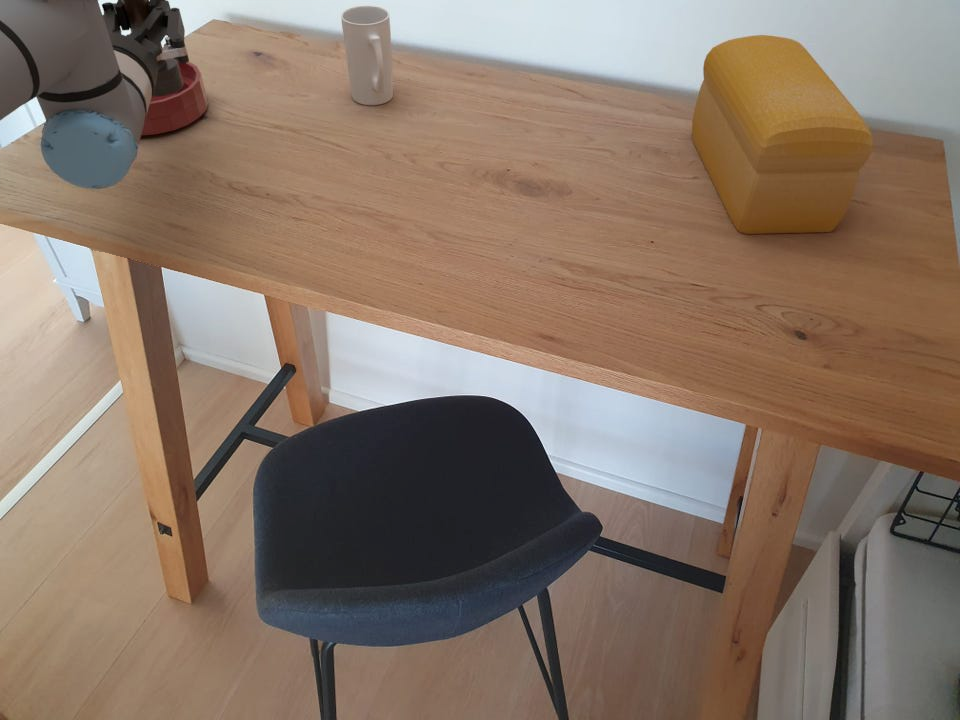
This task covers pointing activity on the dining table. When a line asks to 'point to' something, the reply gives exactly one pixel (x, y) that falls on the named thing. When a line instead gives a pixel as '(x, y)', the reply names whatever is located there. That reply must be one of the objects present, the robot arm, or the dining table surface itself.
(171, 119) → the bowl
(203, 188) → the dining table surface
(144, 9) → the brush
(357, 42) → the mug
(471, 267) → the dining table surface
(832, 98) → the bread
